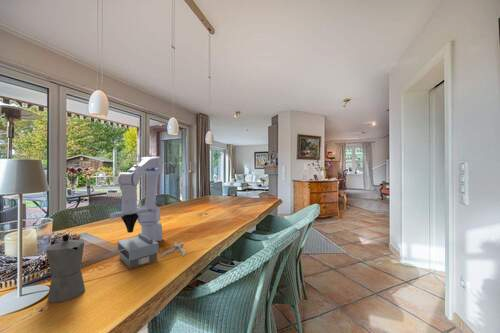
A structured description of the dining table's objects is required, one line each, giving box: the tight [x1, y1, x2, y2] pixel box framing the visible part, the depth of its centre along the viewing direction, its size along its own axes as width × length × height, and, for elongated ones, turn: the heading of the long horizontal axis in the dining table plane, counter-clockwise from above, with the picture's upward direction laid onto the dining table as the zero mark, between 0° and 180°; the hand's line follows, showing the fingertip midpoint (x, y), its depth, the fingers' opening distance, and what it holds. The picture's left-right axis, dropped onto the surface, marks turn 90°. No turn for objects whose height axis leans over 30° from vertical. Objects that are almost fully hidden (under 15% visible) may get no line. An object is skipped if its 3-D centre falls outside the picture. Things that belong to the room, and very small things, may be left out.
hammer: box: [160, 241, 186, 259], centre depth 101 cm, size 10×2×15 cm
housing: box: [118, 249, 158, 270], centre depth 92 cm, size 10×15×3 cm, turn 45°
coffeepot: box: [45, 234, 86, 304], centre depth 68 cm, size 15×9×18 cm, turn 62°
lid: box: [117, 232, 160, 261], centre depth 92 cm, size 11×16×5 cm
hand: (130, 232), depth 96 cm, fingers closed
